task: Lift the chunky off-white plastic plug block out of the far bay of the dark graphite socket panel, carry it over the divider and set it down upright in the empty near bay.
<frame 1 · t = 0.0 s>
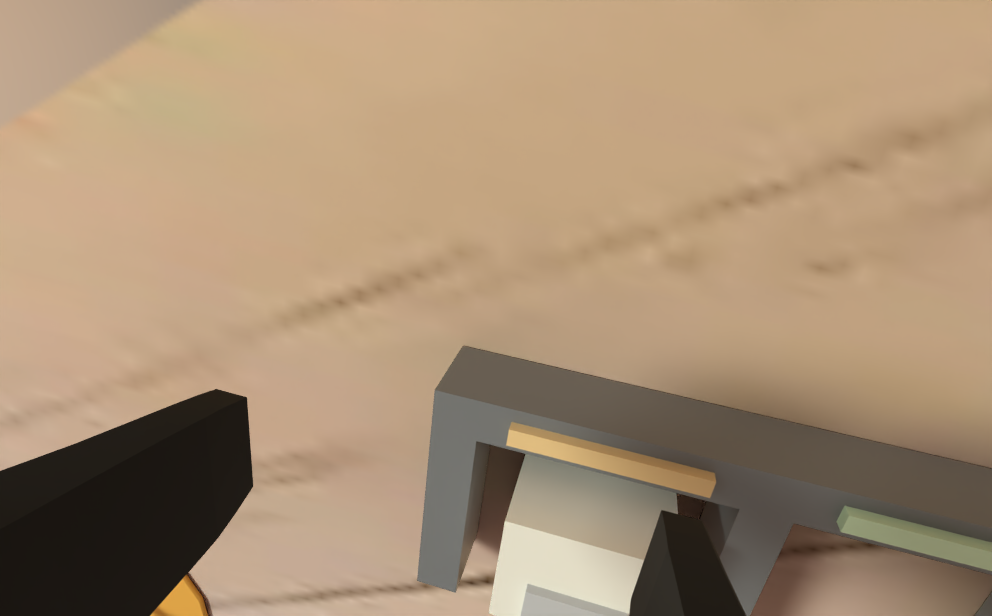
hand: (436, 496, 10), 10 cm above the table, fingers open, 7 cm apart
cup: (140, 588, 32), on the table
socket panel: (727, 507, 20), on the table
plug: (592, 481, 21), on the table
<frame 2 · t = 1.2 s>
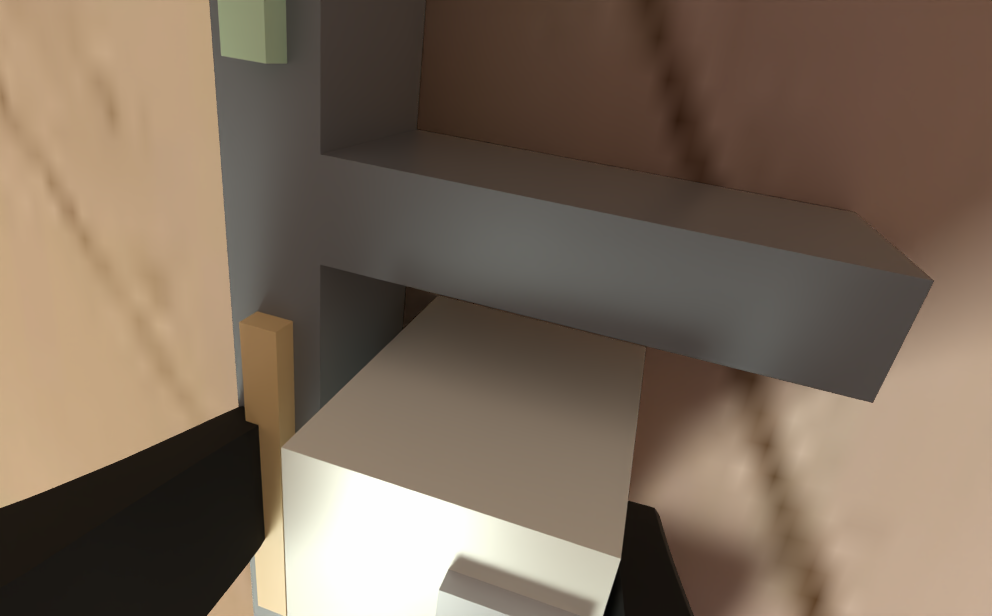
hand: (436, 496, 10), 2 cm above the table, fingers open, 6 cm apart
socket panel: (549, 200, 10), on the table
plug: (519, 426, 12), on the table
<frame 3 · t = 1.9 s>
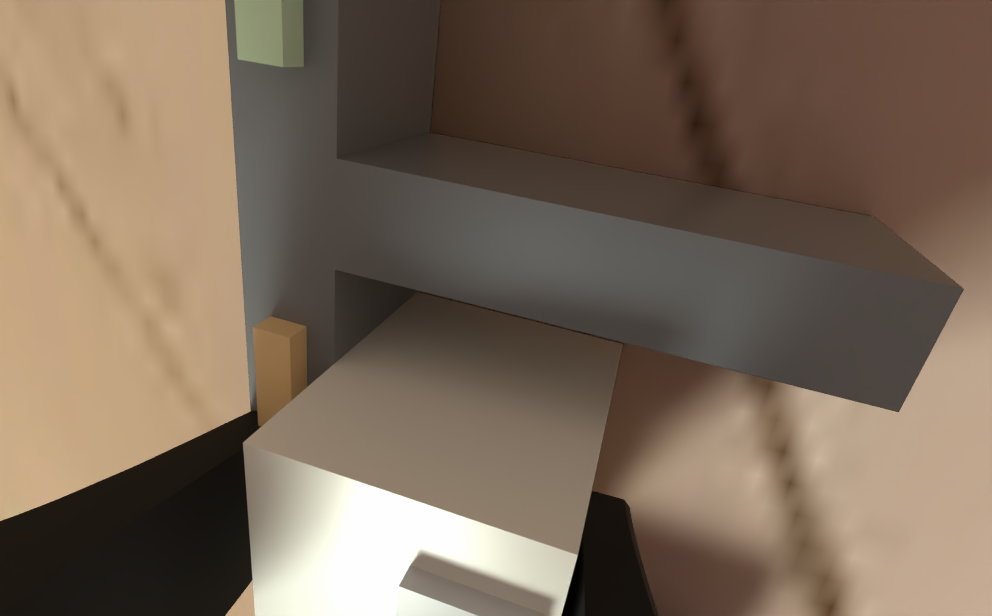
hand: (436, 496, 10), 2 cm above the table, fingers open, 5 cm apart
socket panel: (564, 204, 10), on the table
plug: (498, 425, 12), on the table, touching gripper, socket panel
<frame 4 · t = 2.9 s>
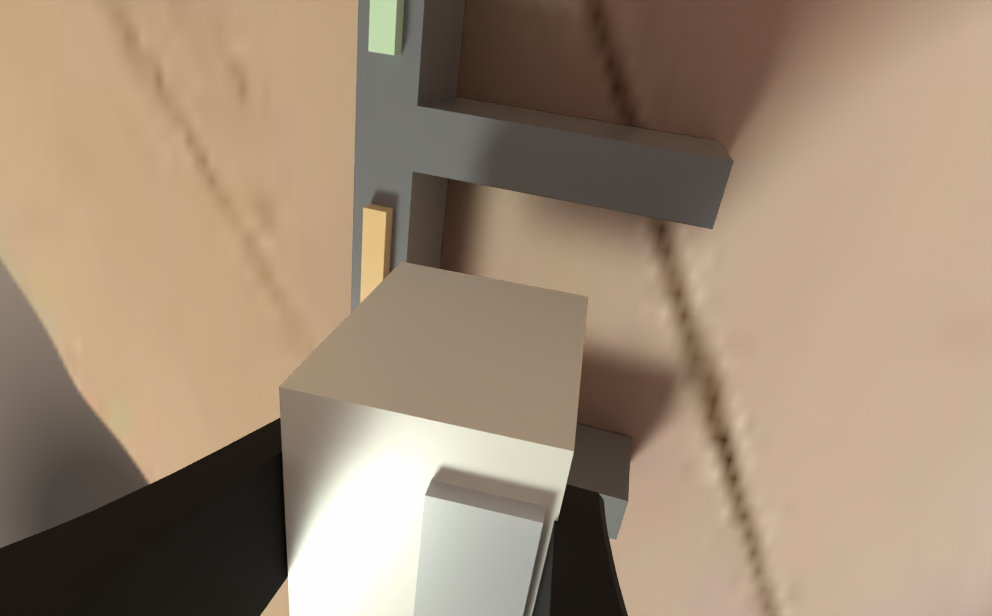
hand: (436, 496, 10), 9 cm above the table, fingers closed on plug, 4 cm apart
socket panel: (540, 140, 16), on the table
plug: (479, 379, 13), point 5 cm above the table, touching gripper
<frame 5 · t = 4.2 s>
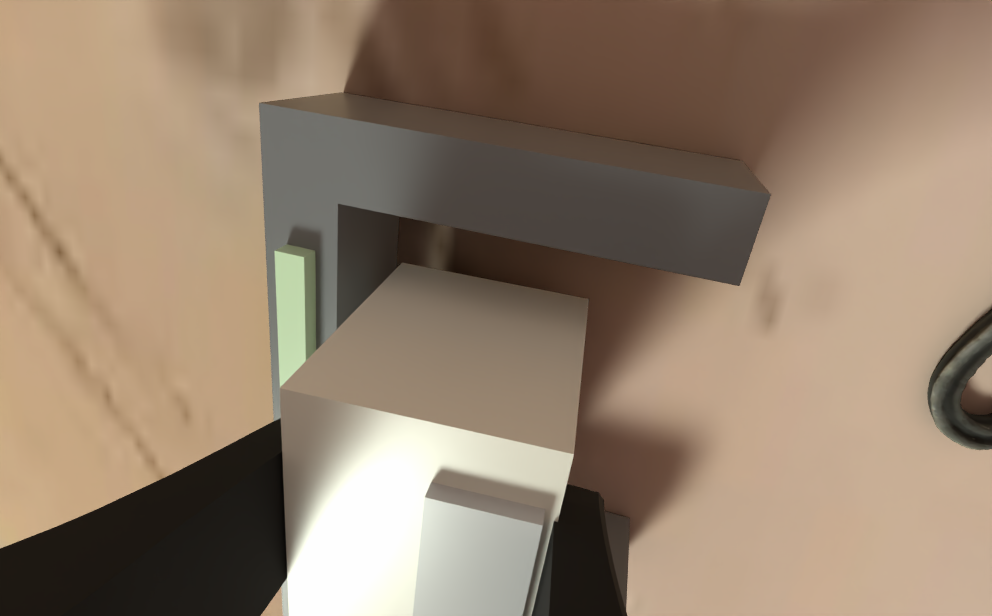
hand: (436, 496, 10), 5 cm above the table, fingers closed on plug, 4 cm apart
socket panel: (465, 493, 16), on the table
plug: (479, 380, 13), point 1 cm above the table, touching gripper
when the fingers open (3 cm above the table, at t = 5.0 s): plug stays where it is, on the table.
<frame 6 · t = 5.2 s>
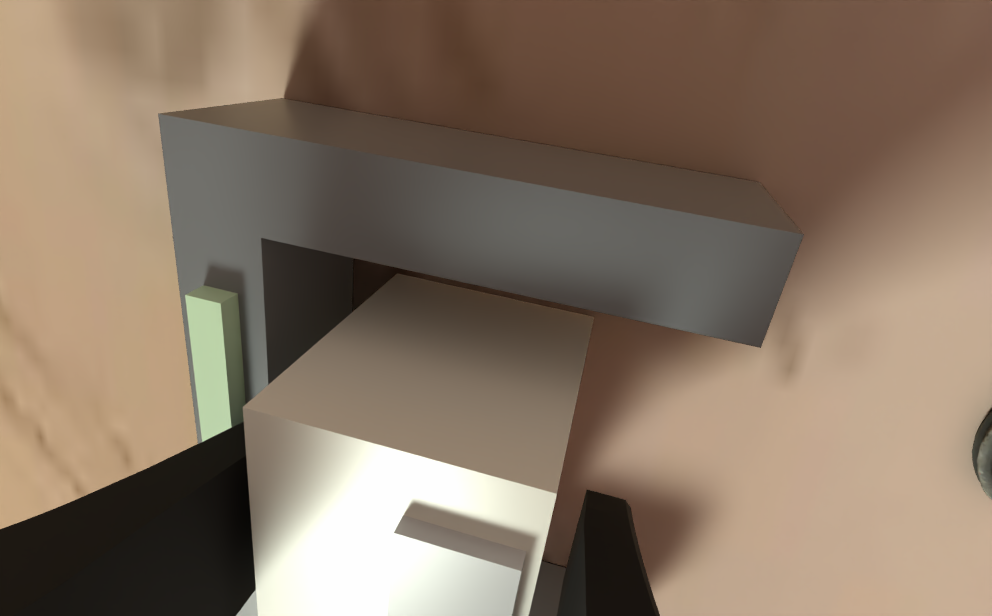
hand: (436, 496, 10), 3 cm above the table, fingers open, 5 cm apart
socket panel: (438, 553, 14), on the table
plug: (478, 398, 12), on the table
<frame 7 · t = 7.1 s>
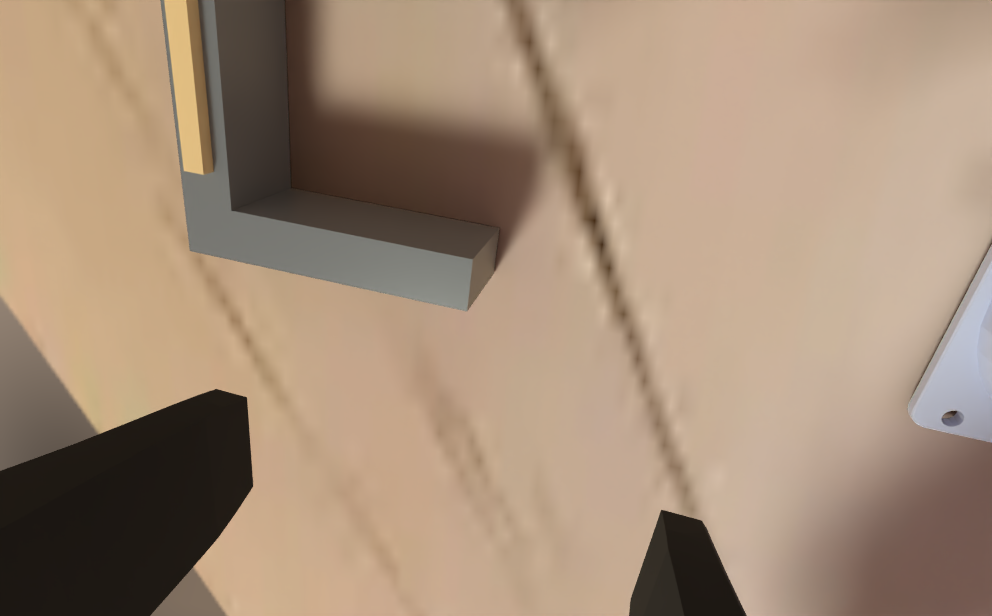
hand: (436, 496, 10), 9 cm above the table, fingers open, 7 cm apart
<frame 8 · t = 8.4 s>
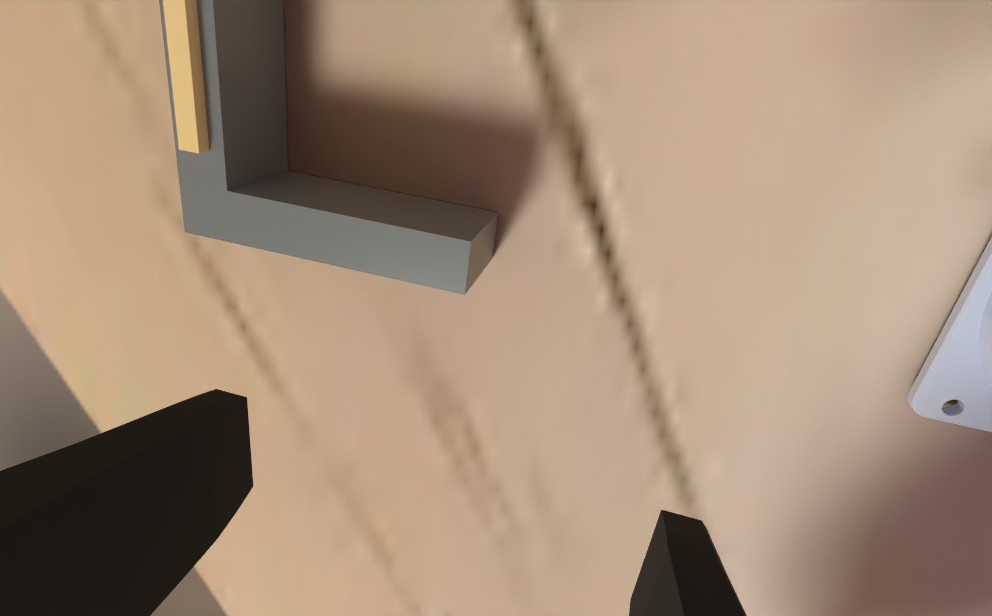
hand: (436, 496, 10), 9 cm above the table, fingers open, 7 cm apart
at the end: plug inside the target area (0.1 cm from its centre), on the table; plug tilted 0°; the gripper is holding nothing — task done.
